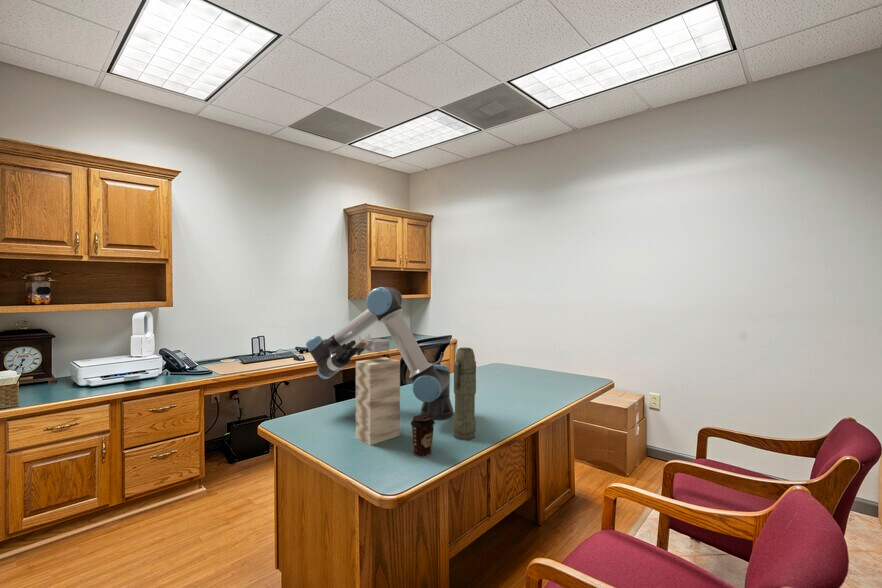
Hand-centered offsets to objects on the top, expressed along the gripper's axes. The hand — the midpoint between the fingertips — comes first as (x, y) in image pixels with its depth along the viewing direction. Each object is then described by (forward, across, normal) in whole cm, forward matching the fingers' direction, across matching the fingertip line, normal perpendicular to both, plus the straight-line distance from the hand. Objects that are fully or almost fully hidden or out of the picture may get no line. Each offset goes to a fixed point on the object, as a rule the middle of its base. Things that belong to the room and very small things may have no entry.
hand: (364, 338), depth 168 cm
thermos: (+8, -26, -49) cm, 56 cm away
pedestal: (-11, 0, -38) cm, 39 cm away
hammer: (0, 0, -5) cm, 5 cm away
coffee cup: (+10, -2, -50) cm, 51 cm away
